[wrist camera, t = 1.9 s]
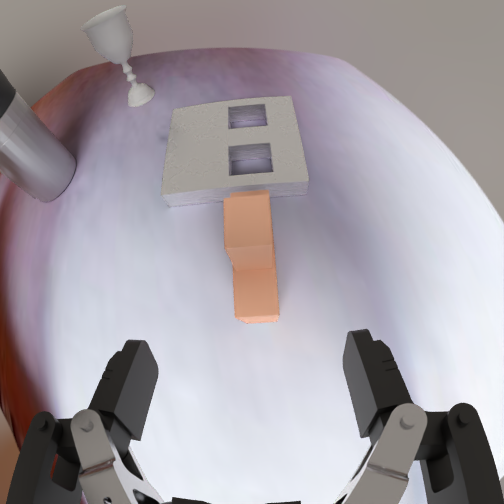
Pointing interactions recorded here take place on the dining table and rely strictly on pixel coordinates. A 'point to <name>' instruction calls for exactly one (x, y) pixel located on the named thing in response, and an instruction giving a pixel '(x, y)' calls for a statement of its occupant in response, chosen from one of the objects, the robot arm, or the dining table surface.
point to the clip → (251, 255)
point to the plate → (232, 151)
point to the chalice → (117, 48)
